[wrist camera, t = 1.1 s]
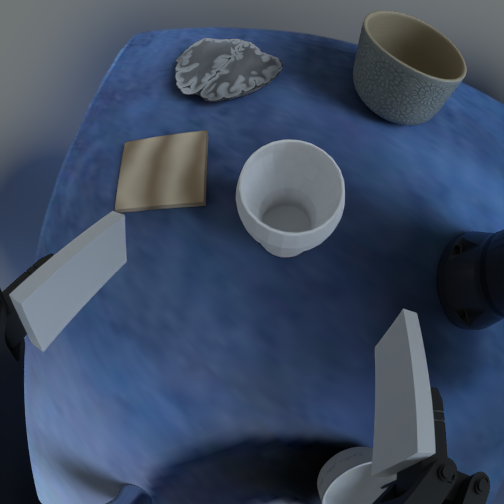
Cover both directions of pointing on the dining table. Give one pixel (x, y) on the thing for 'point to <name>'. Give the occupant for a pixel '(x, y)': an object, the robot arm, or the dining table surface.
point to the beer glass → (131, 496)
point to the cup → (290, 196)
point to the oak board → (163, 173)
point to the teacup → (350, 478)
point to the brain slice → (224, 69)
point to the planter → (405, 68)
